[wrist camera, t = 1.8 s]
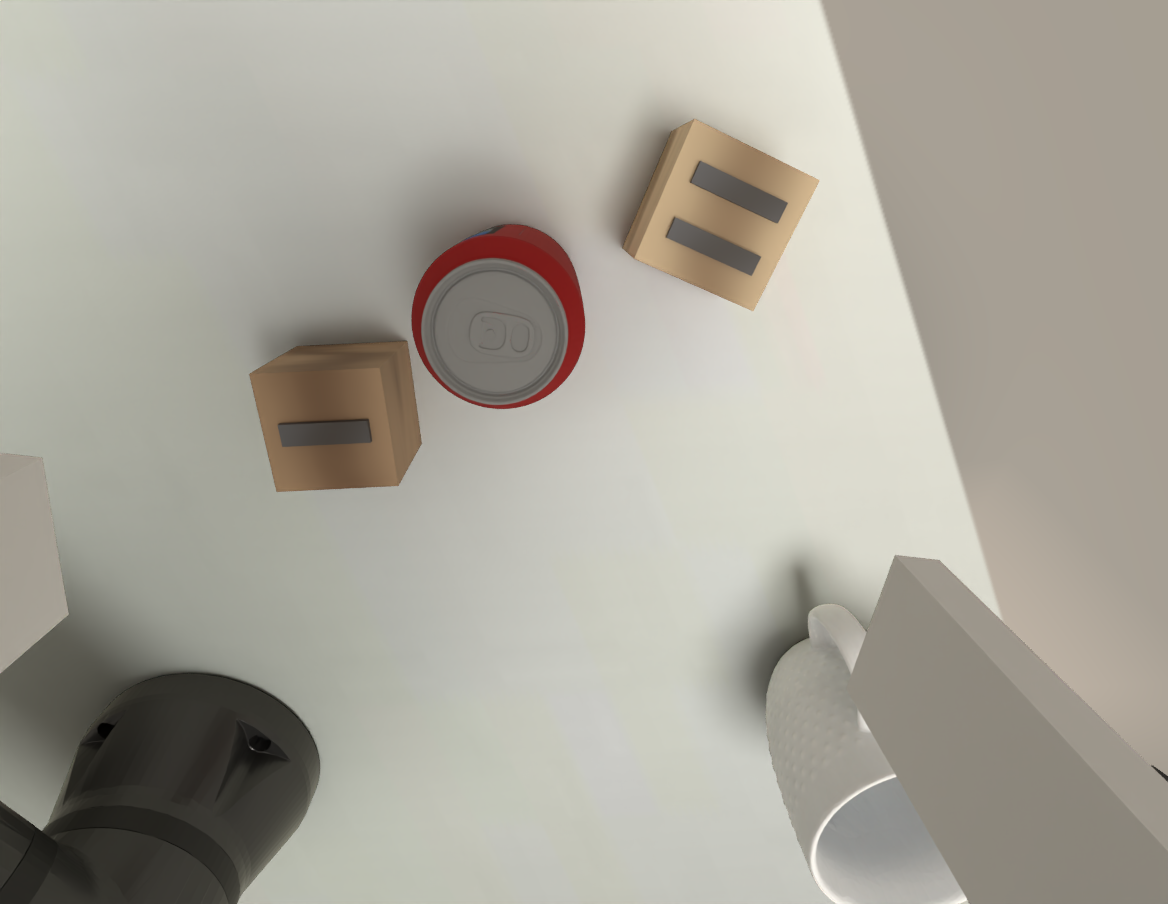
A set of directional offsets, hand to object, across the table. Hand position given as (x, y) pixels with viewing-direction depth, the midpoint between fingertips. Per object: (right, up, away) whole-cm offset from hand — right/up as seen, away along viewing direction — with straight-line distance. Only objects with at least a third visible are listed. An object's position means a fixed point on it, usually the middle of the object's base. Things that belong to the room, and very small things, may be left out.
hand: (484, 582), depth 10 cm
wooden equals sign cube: (+8, +14, +24) cm, 29 cm away
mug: (+18, -12, +35) cm, 41 cm away
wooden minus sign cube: (-11, +5, +26) cm, 29 cm away
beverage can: (-2, +11, +25) cm, 27 cm away
